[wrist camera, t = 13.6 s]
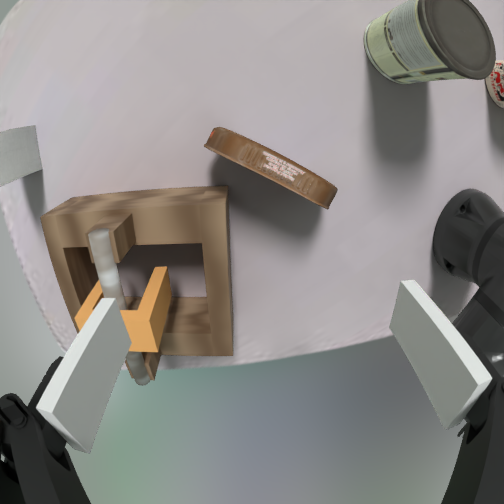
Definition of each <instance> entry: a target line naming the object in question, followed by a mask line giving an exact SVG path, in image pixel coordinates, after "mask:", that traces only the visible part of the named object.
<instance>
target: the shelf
mask: <svg viewBox="0 0 504 504" xmlns="http://www.w3.org/2000/svg"><path fill="white" fill-rule="evenodd" d="M40 218H41V223H42V227H43V231H44V236H45V240H46V243H47V247H48V251H49V254H50V258H51V261H52V265H53V268H54V271H55V274H56V277H57V280H58V283H59V286H60V289H61V292H62V295H63V298H64V300H65V303H66V306H67V308H68V311H69V314H70V316H71V319H72V321H73V323H74V326H75V328H76V331H77V333H79V332H80V331H79V328H78V326H77V323H76V321H75V319H74V318H75V316H76V315H77V313H78V311H79V310H80V308H81V306H82V305H83V303H84V302H85V300H86V299H87V297H88V295H89V294H90V292H91V291H92V289H93V288H94V286H95V285H96V283H97V282H98V280H99V281H100V284H101V288H102V291H103V295H104V298H116V301H117V304H118V307H119V310H138V308H139V305H140V302H141V300H142V297H124V293H123V290H122V286H121V282H120V278H119V274H118V269H117V265H116V263H120V262H121V260H122V259H123V258H124V256H125V255H126V254H127V252H128V251H129V249H130V248H131V247H132V245H151V244H185V243H202V249H203V261H204V272H205V283H206V293H207V297H171V301H170V305H169V308H168V312H167V316H166V321H165V325H164V329H163V333H162V337H161V342H160V346H159V350H158V352H135V351H128V353H127V355H126V361H125V363H126V366H127V368H128V370H129V373H130V375H131V377H132V378H134V379H135V381H136V383H137V384H138V385H146V384H148V383H149V382H150V380H155V376H156V372H157V368H158V364H159V360H160V356H161V355H181V356H233V304H232V283H231V259H230V233H229V203H228V186H207V187H185V188H168V189H154V190H141V191H129V192H118V193H108V194H99V195H90V196H81V197H73V198H70V199H69V200H67V201H65V202H64V203H62V204H60V205H59V206H57V207H55V208H54V209H52V210H50V211H49V212H47V213H46V214H44V215H43V216H41V217H40Z"/></svg>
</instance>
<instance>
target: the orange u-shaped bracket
mask: <svg viewBox="0 0 504 504" xmlns="http://www.w3.org/2000/svg"><path fill="white" fill-rule="evenodd" d="M171 297H172V292H171V287H170V281H169V275H168V268H167V267H155V268H154V271H153V273H152V275H151V278H150V280H149V283H148V285H147V288H146V290H145V292H144V295H143V297H142V300H141V302H140V305H139V308H138V310H120V312H121V315H122V318H123V321H124V324H125V326H126V329H127V332H128V334H129V337H130V339H131V342H132V344H131V346H130V348H129V351H135V352H158V350H159V346H160V342H161V337H162V333H163V329H164V325H165V321H166V316H167V312H168V308H169V305H170V301H171ZM102 298H104V295H103V291H102V288H101V284H100V281H99V280H98V282H97V283H96V285H95V286H94V288H93V289H92V291H91V292H90V294H89V295H88V297H87V299H86V300H85V302H84V303H83V305H82V306H81V308H80V310H79V311H78V313H77V315H76V316H75V318H74V319H75V321H76V323H77V326H78V328H79V331H80V330H81V329H82V327H83V326H84V324H85V323H86V321H87V320H88V318H89V317H90V315H91V314H92V312H93V311H94V309H95V308H96V306H97V305H98V303H99V302H100V300H101V299H102Z"/></svg>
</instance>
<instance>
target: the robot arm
mask: <svg viewBox="0 0 504 504" xmlns="http://www.w3.org/2000/svg"><path fill="white" fill-rule="evenodd" d="M434 253H435V257H436V260H437V262H438V263H439V265H440V266H441V267H442V268H443V269H444V270H446V271H447V272H448V273H449V274H451V275H453V276H456V277H459V278H462V279H465V280H468V281H471V282H474V283H476V284H477V285H478V286H479V289H478V290H477V292H476V293H475V295H474V296H473V297H472V299H471V300H470V301H469V303H468V304H467V305H466V307H465V308H464V309H463V310H462V312H461V313H460V314H459V315H458V317H457V318H456V319H455V320H454V322H453V323H451V322H450V321H449V320H448V318H447V317H446V316H445V315H444V314H443V312H442V311H441V310H440V309H439V308H438V307H437V305H436V304H435V303H434V302H433V301H432V300H431V298H430V297H429V296H428V295H427V294H426V293H425V292H424V290H423V289H422V288H421V287H420V286H419V285H418V284H417V283H416V282H415V280H406V281H401V282H400V286H399V291H398V295H397V299H396V304H395V308H394V311H393V315H392V319H391V323H390V326H389V328H390V329H391V331H392V333H393V334H394V336H395V338H396V339H397V341H398V343H399V344H400V346H401V348H402V350H403V351H404V353H405V355H406V357H407V358H408V360H409V362H410V364H411V365H412V367H413V369H414V371H415V373H416V374H417V376H418V378H419V380H420V382H421V384H422V386H423V387H424V389H425V391H426V393H427V395H428V397H429V399H430V401H431V403H432V405H433V407H434V409H435V411H436V413H437V415H438V417H439V419H440V421H441V423H442V425H443V427H444V429H445V430H447V429H449V428H452V427H454V426H456V425H458V424H460V423H461V421H462V420H463V419H465V420H466V422H467V423H466V425H465V426H464V427H463V428H462V429H461V430H460V432H459V433H458V437H459V436H460V435H461V434H462V433H463V432H464V435H463V440H462V443H461V447H460V451H459V454H458V458H457V462H456V464H455V467H454V471H453V474H452V476H451V479H450V482H449V485H448V488H447V490H446V493H445V495H444V498H443V500H442V503H441V504H504V212H503V211H502V210H501V209H500V208H499V206H498V205H497V204H496V203H495V202H494V201H493V200H492V198H491V197H489V196H488V195H487V194H485V193H483V192H481V191H478V190H476V189H466V190H463V191H461V192H459V193H458V194H456V195H455V196H454V197H453V198H452V199H451V200H450V201H449V202H448V204H447V205H446V206H445V208H444V210H443V211H442V213H441V215H440V218H439V220H438V223H437V226H436V229H435V234H434ZM131 344H132V342H131V339H130V337H129V334H128V332H127V329H126V326H125V324H124V321H123V318H122V315H121V312H120V310H119V307H118V304H117V301H116V298H102V299H101V300H100V302H99V303H98V305H97V306H96V308H95V309H94V311H93V312H92V314H91V315H90V317H89V318H88V320H87V321H86V323H85V324H84V326H83V327H82V329H81V330H80V332H79V333H78V335H77V337H76V338H75V340H74V341H73V343H72V345H71V346H70V348H69V350H68V351H67V353H66V355H65V356H64V357H59V358H58V359H57V360H55V361H54V362H53V363H52V364H51V366H50V367H49V369H48V371H47V372H46V375H45V376H44V377H43V380H42V382H41V383H40V384H39V386H38V388H37V390H36V392H35V394H34V395H33V397H32V399H31V401H30V403H29V405H28V406H26V405H25V404H24V403H23V401H22V400H21V399H20V398H19V397H18V396H17V395H16V394H13V393H10V394H6V395H4V396H2V397H1V398H0V504H91V503H90V501H89V499H88V497H87V495H86V492H85V490H84V488H83V486H82V484H81V482H80V480H79V477H78V476H77V473H76V471H75V468H74V466H73V463H72V461H71V458H70V456H69V453H68V451H67V450H66V448H65V445H66V442H67V443H68V444H69V445H70V446H71V447H72V448H74V449H75V450H79V451H82V452H85V453H89V454H90V452H91V449H92V446H93V443H94V440H95V436H96V434H97V430H98V428H99V425H100V422H101V420H102V417H103V414H104V411H105V409H106V406H107V403H108V401H109V398H110V395H111V393H112V390H113V387H114V385H115V382H116V380H117V377H118V375H119V372H120V370H121V367H122V365H123V363H124V360H125V358H126V355H127V353H128V351H129V348H130V346H131ZM1 454H2V455H3V456H4V457H5V460H4V462H3V461H2V460H1Z"/></svg>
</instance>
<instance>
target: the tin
mask: <svg viewBox="0 0 504 504" xmlns="http://www.w3.org/2000/svg"><path fill="white" fill-rule="evenodd" d="M204 147H206V148H208V149H209V150H211V151H213V152H215V153H217V154H219V155H221V156H223V157H225V158H227V159H229V160H231V161H233V162H235V163H237V164H239V165H241V166H243V167H245V168H247V169H249V170H251V171H254V172H256V173H258V174H260V175H262V176H264V177H266V178H268V179H270V180H272V181H274V182H275V183H277V184H279V185H281V186H283V187H285V188H287V189H289V190H291V191H293V192H295V193H297V194H298V195H300V196H302V197H304V198H306V199H308V200H309V201H311V202H313V203H315V204H317V205H319V206H321V207H323V208H326V209H329V206H330V204H331V202H332V200H333V198H334V197H335V195H336V193H337V188H336V187H335V186H334V185H333V184H331V183H329V182H328V181H326V180H325V179H323V178H321V177H320V176H318V175H316V174H315V173H313V172H311V171H310V170H308V169H306V168H304V167H303V166H301V165H299V164H297V163H295V162H294V161H292V160H290V159H288V158H286V157H284V156H283V155H281V154H279V153H277V152H275V151H273V150H271V149H269V148H267V147H265V146H263V145H261V144H259V143H257V142H254V141H252V140H250V139H248V138H246V137H244V136H242V135H239V134H237V133H235V132H233V131H230V130H228V129H225V128H222V127H217V128H214V129H213V131H212V133H211V135H210V137H209V139H208V141H207V143H206V144H205V145H204Z"/></svg>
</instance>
